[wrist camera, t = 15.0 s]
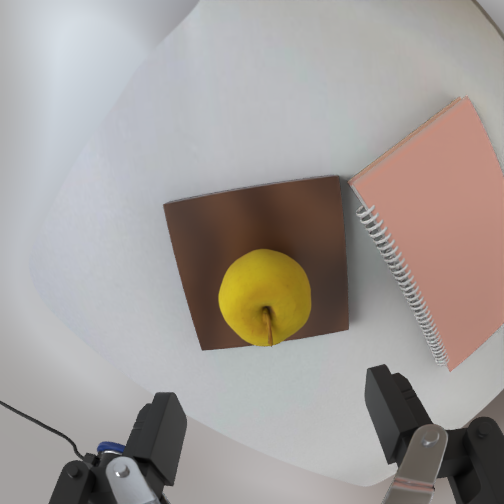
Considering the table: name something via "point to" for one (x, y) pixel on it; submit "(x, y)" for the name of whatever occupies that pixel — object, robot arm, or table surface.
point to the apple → (265, 297)
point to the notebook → (442, 227)
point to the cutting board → (262, 237)
